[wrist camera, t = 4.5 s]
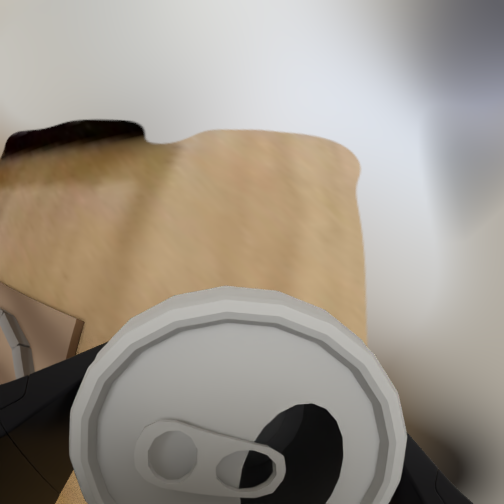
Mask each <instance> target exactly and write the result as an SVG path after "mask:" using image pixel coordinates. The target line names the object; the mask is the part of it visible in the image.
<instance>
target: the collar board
mask: <svg viewBox="0 0 504 504" xmlns="http://www.w3.org/2000/svg"><path fill="white" fill-rule="evenodd" d="M83 324H84V322H83V321H81V320H78V319H76V318H74V317H71V316H69V315H67V314H64V313H62V312H60V311H57V310H55V309H53V308H51V307H49V306H46V305H44V304H42V303H40V302H38V301H36V300H34V299H32V298H30V297H28V296H26V295H24V294H22V293H20V292H18V291H16V290H14V289H12V288H10V287H8V286H6V285H4V284H2V283H1V282H0V384H4V383H7V382H10V381H13V380H15V379H18V378H21V377H23V376H26V375H29V374H31V373H33V372H36V371H38V370H41V369H43V368H46V367H48V366H51V365H53V364H56V363H58V362H61V361H63V360H65V359H68V358H70V357H73V356H75V354H76V350H77V346H78V342H79V338H80V335H81V331H82V327H83Z"/></svg>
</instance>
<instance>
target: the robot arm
mask: <svg viewBox="0 0 504 504" xmlns="http://www.w3.org/2000/svg"><path fill="white" fill-rule="evenodd" d="M108 342H109V341H108ZM108 342H106V343H104V344H101V345H99V346H97V347H94V348H92V349H89V350H87V351H85V352H82V353H80V354H78V355H75V356H73V357H70V358H68V359H65V360H63V361H61V362H58V363H56V364H53V365H51V366H48V367H46V368H43V369H41V370H38V371H36V372H33V373H31V374H29V375H26V376H23V377H21V378H18V379H15V380H13V381H10V382H7V383H4V384H0V504H55V503H56V501H57V499H58V497H59V494H60V493H61V491H62V489H63V488H64V486H65V484H66V482H67V480H68V479H69V477H70V475H71V473H72V471H73V470H74V469H73V466H72V462H71V459H70V454H69V435H70V410H71V407H72V405H73V402H74V400H75V397H76V395H77V392H78V390H79V388H80V385H81V383H82V380H83V378H84V376H85V373H86V371H87V369H88V367H89V366H90V365H91V364H92V362H93V361H94V360H95V358H96V356H97V354H98V352H99V351H100V350H101V349H102V348H103V347H104V346H105V345H106V344H107V343H108ZM406 433H407V432H406ZM389 504H473V503H472V502H471V501H470V500H469V499H468V498H467V497H465V496H464V495H463V494H462V493H461V492H460V491H459V490H458V489H457V488H456V487H455V486H454V485H453V484H452V483H451V482H450V481H449V480H448V479H447V478H446V477H445V476H444V474H443V473H442V472H441V471H440V470H439V469H438V467H437V466H436V465H435V464H434V463H433V462H432V461H431V459H430V458H429V457H428V456H427V455H426V454H425V452H424V451H423V450H422V449H421V448H420V447H419V446H418V444H417V443H416V442H415V441H414V440H413V439H412V437H410V435H409V434H408V433H407V442H406V450H405V457H404V463H403V469H402V475H401V480H400V482H399V484H398V486H397V488H396V490H395V492H394V494H393V496H392V498H391V500H390V502H389Z"/></svg>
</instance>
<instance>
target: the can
mask: <svg viewBox="0 0 504 504" xmlns="http://www.w3.org/2000/svg"><path fill="white" fill-rule="evenodd" d="M406 442H407V433H406V428H405V423H404V418H403V413H402V408H401V403H400V400H399V395H398V392H397V390H396V389H395V387H394V385H393V384H392V382H391V380H390V379H389V377H388V376H387V374H386V372H385V371H384V369H383V368H382V366H381V364H380V363H379V362H378V360H377V358H376V357H375V355H374V353H373V352H372V351H370V350H369V349H368V348H367V347H366V345H365V344H364V342H363V341H362V340H361V339H360V338H359V337H358V336H356V335H355V334H354V333H353V332H352V331H350V330H349V329H348V328H347V327H345V326H344V325H343V324H342V323H340V322H339V321H338V320H337V319H336V318H334V317H333V316H332V315H331V314H329V313H328V312H327V311H326V310H324V309H322V308H319V307H317V306H314V305H312V304H309V303H307V302H304V301H302V300H299V299H297V298H294V297H292V296H289V295H287V294H284V293H282V292H279V291H275V290H264V289H253V288H243V287H233V286H222V287H216V288H211V289H206V290H201V291H196V292H190V293H185V294H179V295H174V296H172V297H171V298H169V299H167V300H165V301H163V302H161V303H159V304H157V305H155V306H154V307H152V308H150V309H148V310H146V311H144V312H142V313H140V314H138V315H137V316H135V317H133V318H131V319H130V320H129V321H128V322H127V323H126V324H125V325H124V326H123V327H122V328H121V329H120V330H119V331H118V332H117V333H116V334H115V335H114V336H113V337H112V339H111V340H110V341H109V342H108V343H107V344H106V345H105V346H104V347H103V348H102V349H101V350H100V351H99V352H98V354H97V356H96V358H95V360H94V361H93V362H92V364H91V365H90V366H89V367H88V369H87V371H86V373H85V376H84V378H83V380H82V383H81V385H80V388H79V390H78V392H77V395H76V397H75V400H74V402H73V405H72V407H71V410H70V435H69V454H70V459H71V462H72V466H73V469H74V472H75V475H76V478H77V480H78V483H79V486H80V489H81V491H82V494H83V496H84V499H85V501H86V502H87V503H88V504H389V502H390V500H391V498H392V496H393V494H394V492H395V490H396V488H397V486H398V484H399V482H400V480H401V475H402V469H403V463H404V457H405V450H406Z"/></svg>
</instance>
